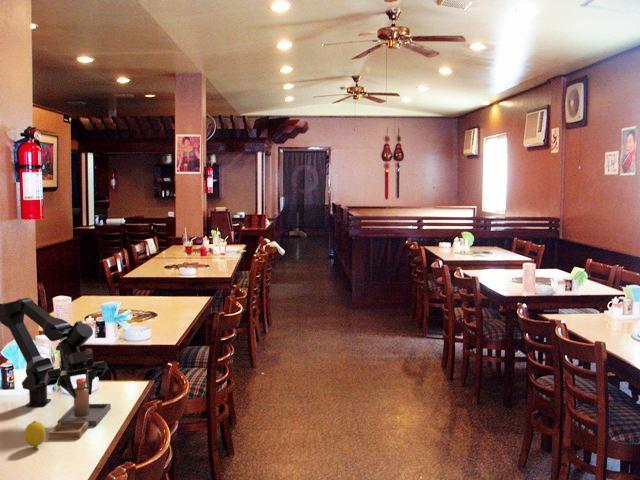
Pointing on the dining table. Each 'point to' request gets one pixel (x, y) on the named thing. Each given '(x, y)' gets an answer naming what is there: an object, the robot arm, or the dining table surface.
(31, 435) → the lemon
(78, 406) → the bottle
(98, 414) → the tray
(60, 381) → the robot arm
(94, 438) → the dining table surface
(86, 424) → the stand
